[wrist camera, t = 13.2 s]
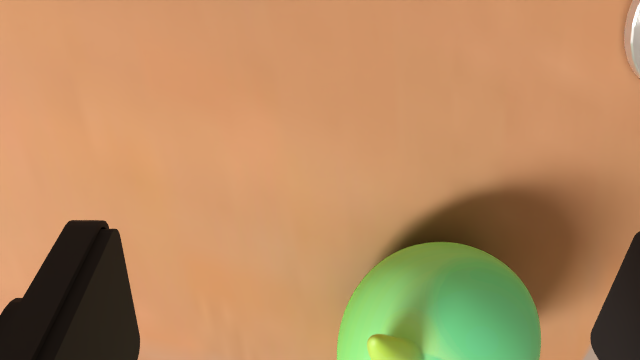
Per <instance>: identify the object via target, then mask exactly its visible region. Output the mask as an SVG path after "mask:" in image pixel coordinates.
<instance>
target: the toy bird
mask: <svg viewBox="0 0 640 360" xmlns="http://www.w3.org/2000/svg"><path fill="white" fill-rule="evenodd" d="M540 348H541V331H540V322H539V317H538V313H537V309H536V306H535V304H534V301H533V299H532V297H531V295H530V293H529V291H528V289H527V288H526V286H525V285H524V283H523V282H522V281H521V280H520V278H519V277H518V276H517V275H516V274H515V273H514V272H513V271H512V270H511V269H510V268H509V267H508V266H507V265H505V264H504V263H503V262H501V261H500V260H498V259H497V258H495V257H494V256H492V255H490V254H488V253H486V252H484V251H482V250H480V249H477V248H474V247H471V246H468V245H464V244H459V243H453V242H429V243H422V244H417V245H413V246H410V247H407V248H404V249H402V250H399V251H397V252H395V253H393V254H391V255H390V256H388V257H386V258H385V259H384V260H382V261H381V262H380V263H378V264H377V265H376V266H375V267H374V268H373V269H372V270H371V271H370V272H369V273H368V274H367V275H366V276H365V277H364V278H363V280H362V281H361V282H360V284H359V285H358V286H357V288H356V290H355V291H354V293H353V295H352V296H351V298H350V300H349V302H348V305H347V307H346V310H345V312H344V315H343V318H342V322H341V326H340V330H339V336H338V343H337V360H539V357H540Z"/></svg>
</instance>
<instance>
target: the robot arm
mask: <svg viewBox="0 0 640 360" xmlns="http://www.w3.org/2000/svg"><path fill="white" fill-rule="evenodd" d="M624 48H625V52H626V56H627V60H628V63H629V64H630V66H631V68H632V70H633V72H634V73H635V74H636V75H637V77H638V78H639V79H640V0H632V3H631V6H630V8H629V11H628V14H627V19H626V24H625V30H624ZM591 345H592V348H593V350H594V352H595V354H596V355H597V357H598V359H599V360H640V232H638V233H637V234H636V235H635V236H634V238H633V240H632V243H631V245H630V247H629V249H628V251H627V254H626V256H625V258H624V260H623V262H622V265H621V267H620V269H619V271H618V274H617V276H616V278H615V280H614V282H613V285H612V287H611V289H610V291H609V293H608V296H607V298H606V300H605V302H604V305H603V307H602V309H601V311H600V313H599V316H598V318H597V320H596V322H595V324H594V327H593V329H592V332H591ZM139 349H140V335H139V330H138V325H137V320H136V315H135V310H134V304H133V299H132V294H131V289H130V284H129V279H128V274H127V269H126V264H125V258H124V253H123V248H122V243H121V238H120V234H119V231H118V230H117V229H109V226H108V224H107V223H106V221H99V220H71V221H69V222H68V223H67V224H66V225H65V227H64V229H63V230H62V232H61V234H60V235H59V237H58V239H57V241H56V242H55V244H54V246H53V247H52V249H51V251H50V252H49V254H48V256H47V258H46V259H45V261H44V263H43V264H42V266H41V268H40V269H39V271H38V273H37V275H36V276H35V278H34V280H33V281H32V283H31V285H30V286H29V288H28V290H27V292H26V293H25V295H24V297H23V298H15V299H14V300H12V301H11V302H9V304H8V305H7V306H6V307H5V309H4V310H3V312H2V313H1V315H0V360H137V359H138V355H139Z"/></svg>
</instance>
